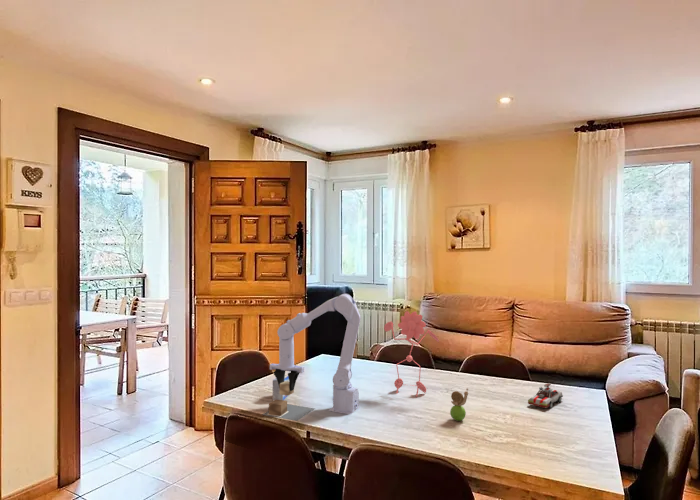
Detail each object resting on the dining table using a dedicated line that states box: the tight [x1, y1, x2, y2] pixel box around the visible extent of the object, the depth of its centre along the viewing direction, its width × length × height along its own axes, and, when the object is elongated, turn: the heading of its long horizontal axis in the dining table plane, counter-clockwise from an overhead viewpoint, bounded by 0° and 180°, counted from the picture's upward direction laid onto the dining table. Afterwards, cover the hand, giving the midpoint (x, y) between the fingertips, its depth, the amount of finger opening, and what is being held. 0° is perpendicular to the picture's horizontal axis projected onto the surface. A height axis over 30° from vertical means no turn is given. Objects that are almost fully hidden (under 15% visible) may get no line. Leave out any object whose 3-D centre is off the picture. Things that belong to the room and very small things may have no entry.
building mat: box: [261, 403, 316, 422], centre depth 172 cm, size 15×14×1 cm
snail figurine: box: [449, 388, 469, 422], centre depth 164 cm, size 5×6×12 cm
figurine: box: [383, 310, 440, 398], centre depth 199 cm, size 15×26×35 cm, turn 60°
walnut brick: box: [268, 399, 288, 416], centre depth 170 cm, size 5×5×4 cm
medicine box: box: [272, 374, 289, 401], centre depth 189 cm, size 8×4×9 cm, turn 168°
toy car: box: [527, 382, 564, 409], centre depth 183 cm, size 8×18×8 cm, turn 135°
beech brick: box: [280, 381, 295, 397], centre depth 177 cm, size 4×4×4 cm
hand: (286, 389), depth 178 cm, fingers closed on beech brick, 4 cm apart
